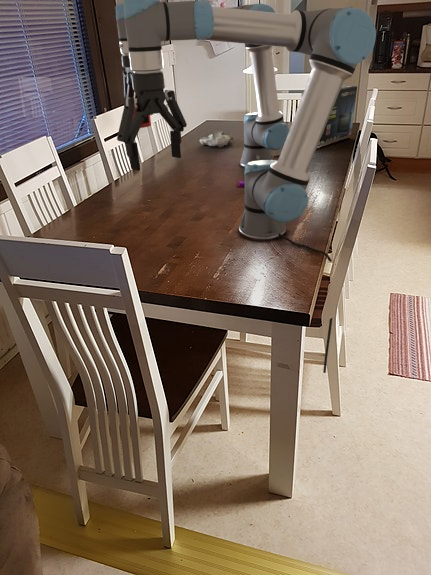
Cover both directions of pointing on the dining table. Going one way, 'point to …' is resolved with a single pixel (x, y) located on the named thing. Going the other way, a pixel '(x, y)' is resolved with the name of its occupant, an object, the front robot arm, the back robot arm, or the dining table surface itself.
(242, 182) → the handgun
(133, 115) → the tin
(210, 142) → the fossil
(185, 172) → the dining table surface
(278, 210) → the front robot arm
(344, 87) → the router box
